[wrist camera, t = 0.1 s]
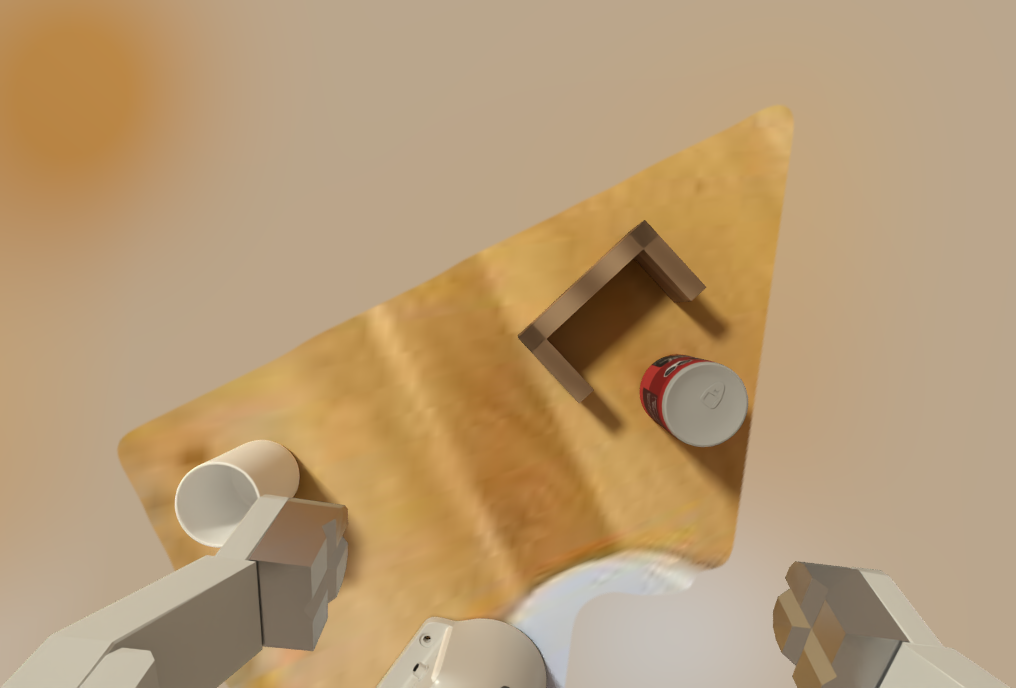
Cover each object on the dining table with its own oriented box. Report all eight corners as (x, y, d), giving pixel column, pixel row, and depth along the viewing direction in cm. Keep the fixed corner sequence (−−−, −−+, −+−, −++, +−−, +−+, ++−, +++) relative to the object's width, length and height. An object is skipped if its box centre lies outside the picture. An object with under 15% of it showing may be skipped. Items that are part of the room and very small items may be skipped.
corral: (573, 395, 62) (579, 403, 56) (517, 335, 62) (517, 337, 56) (688, 289, 62) (706, 287, 56) (632, 229, 61) (644, 219, 55)
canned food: (718, 366, 62) (761, 377, 51) (693, 434, 63) (730, 460, 52) (652, 343, 62) (681, 349, 51) (627, 411, 63) (651, 432, 52)
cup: (266, 423, 63) (219, 443, 53) (339, 501, 64) (306, 537, 53) (213, 471, 64) (156, 501, 53) (286, 549, 64) (243, 593, 54)
